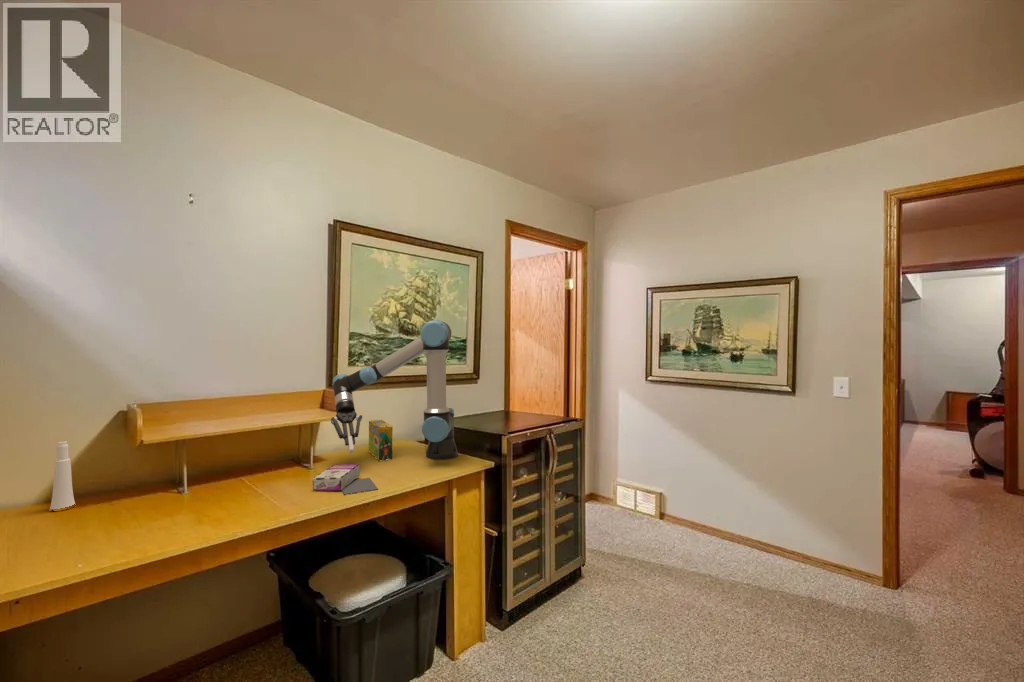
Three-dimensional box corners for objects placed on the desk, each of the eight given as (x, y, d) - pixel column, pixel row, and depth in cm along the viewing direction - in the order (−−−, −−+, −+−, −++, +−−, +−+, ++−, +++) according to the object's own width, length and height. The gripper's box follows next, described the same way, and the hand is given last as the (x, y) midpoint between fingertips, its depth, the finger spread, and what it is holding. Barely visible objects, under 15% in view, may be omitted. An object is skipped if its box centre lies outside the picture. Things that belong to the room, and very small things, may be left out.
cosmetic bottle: (78, 507, 148) (78, 441, 148) (53, 513, 143) (52, 445, 142) (71, 503, 151) (71, 439, 151) (46, 509, 146) (46, 442, 146)
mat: (369, 478, 179) (369, 477, 179) (378, 489, 166) (378, 488, 166) (337, 483, 173) (337, 482, 173) (344, 495, 160) (344, 494, 160)
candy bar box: (334, 476, 181) (312, 491, 165) (333, 464, 181) (311, 477, 165) (360, 476, 180) (341, 490, 164) (360, 463, 180) (340, 477, 163)
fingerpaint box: (393, 459, 208) (393, 425, 208) (378, 461, 205) (378, 427, 204) (382, 450, 224) (382, 419, 224) (368, 452, 221) (368, 420, 221)
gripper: (358, 409, 201) (366, 454, 187) (328, 411, 195) (333, 458, 180) (361, 398, 196) (369, 444, 182) (329, 400, 190) (335, 448, 175)
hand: (351, 451), depth 181 cm, fingers closed
